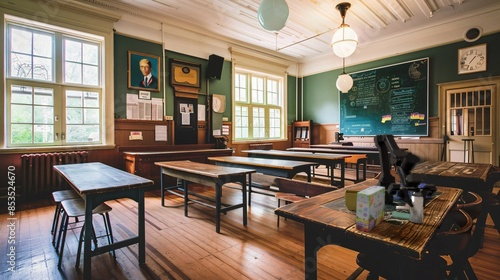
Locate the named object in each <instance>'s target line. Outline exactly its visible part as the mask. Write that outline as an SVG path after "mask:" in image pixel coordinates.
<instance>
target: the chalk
mask: <svg viewBox="0 0 500 280" xmlns="http://www.w3.org/2000/svg"><path fill="white" fill-rule="evenodd" d="M395 207H396V208H395V209H396V210H402V211H403V210H406V211H409V207H405V206H401V205H398V206H397V205H396V206H395Z"/></svg>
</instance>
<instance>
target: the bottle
mask: <svg viewBox="0 0 500 280" xmlns="http://www.w3.org/2000/svg"><path fill="white" fill-rule="evenodd" d="M410 199H411V202H412V205H413V207H410V212H409V214H410V220H409V221H410V222H412V223H416V224H423V222H424V221H423V220H424V208H423V196H421V193H420V192H412V195H410Z"/></svg>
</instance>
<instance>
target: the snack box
mask: <svg viewBox="0 0 500 280" xmlns="http://www.w3.org/2000/svg"><path fill="white" fill-rule="evenodd" d="M359 191H360V192H358V193H357V211H355V212H356V217H355V222H356V223H355V230H358V231H363V232H365V233H369V232H371V231H372V230H373V229H374V228H376V226H378V225H379V224H381V223H382V222H383V221H384V220H385V187H381V186H377V185H372V186H370V187H367V188H364V189H363V190H359Z"/></svg>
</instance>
